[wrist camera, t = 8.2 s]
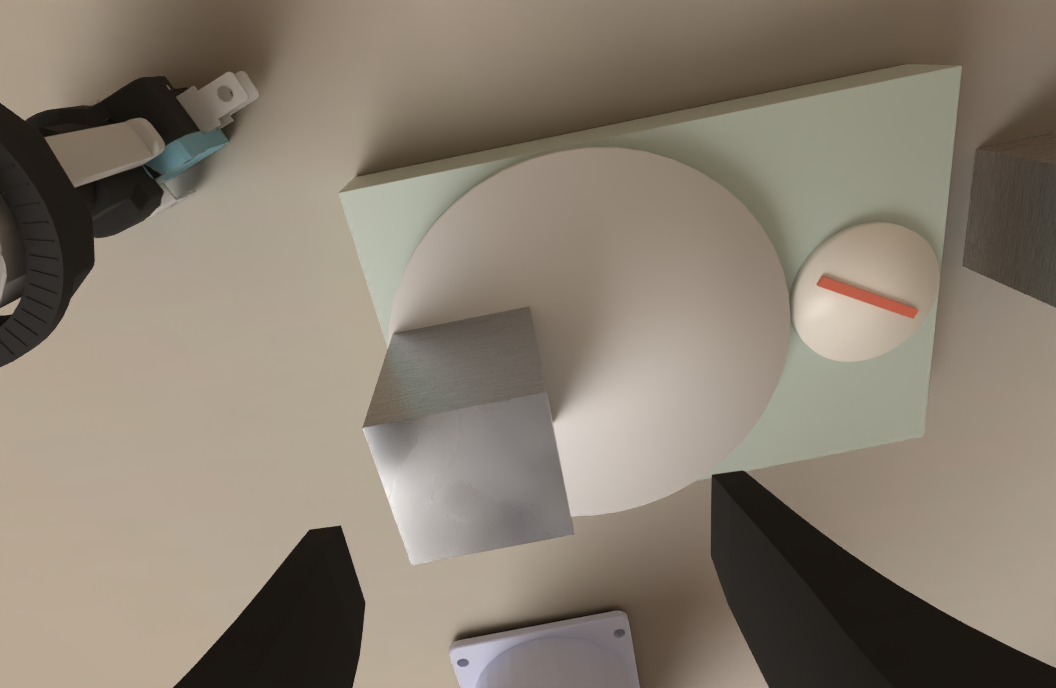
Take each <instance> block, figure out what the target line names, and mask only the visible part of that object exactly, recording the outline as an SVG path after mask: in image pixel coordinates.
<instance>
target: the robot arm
mask: <svg viewBox="0 0 1056 688" xmlns="http://www.w3.org/2000/svg"><path fill="white" fill-rule="evenodd" d="M711 557H712V560H713V562H714V565H715V568H716V571H717V574H718V577H719V580H720V583H721V586H722V588H723V591H724V594H725V597H726V599H727V602H728V605H729V607H730V609H731V611H732V613H733V615H734V617H735V619H736V621H737V623H738V626H739V628H740V630H741V632H742V634H743V636H744V638H745V640H746V642H747V644H748V646H749V648H750V650H751V652H752V654H753V656H754V658H755V660H756V662H757V664H758V666H759V668H760V670H761V672H762V674H763V676H764V678H765V680H766V682H767V684H768V686H769V688H1056V668H1055V667H1052V666H1050V665H1048V664H1046V663H1043V662H1041V661H1039V660H1037V659H1035V658H1033V657H1031V656H1028V655H1026V654H1024V653H1022V652H1020V651H1018V650H1016V649H1014V648H1012V647H1010V646H1008V645H1006V644H1004V643H1002V642H1000V641H998V640H996V639H994V638H992V637H990V636H988V635H986V634H984V633H982V632H980V631H978V630H976V629H974V628H972V627H970V626H968V625H966V624H964V623H963V622H961V621H959V620H957V619H955V618H953V617H952V616H950V615H948V614H946V613H944V612H942V611H941V610H939V609H937V608H936V607H934V606H932V605H930V604H929V603H927V602H925V601H924V600H922V599H920V598H919V597H917V596H915V595H913V594H912V593H910V592H908V591H907V590H905V589H903V588H902V587H900V586H898V585H897V584H895V583H894V582H892V581H890V580H889V579H887V578H886V577H884V576H883V575H881V574H880V573H878V572H877V571H875V570H874V569H872V568H871V567H869V566H868V565H866V564H865V563H863V562H862V561H860V560H859V559H857V558H856V557H854V556H853V555H851V554H850V553H849V552H847V551H846V550H844V549H843V548H842V547H840V546H839V545H837V544H836V543H835V542H833V541H832V540H831V539H829V538H828V537H827V536H825V535H824V534H823V533H821V532H820V531H819V530H817V529H816V528H815V527H813V526H812V525H811V524H809V523H808V522H807V521H806V520H804V519H803V518H802V517H800V516H799V515H798V514H797V513H795V512H794V511H793V510H792V509H790V508H789V507H788V506H787V505H785V504H784V503H783V502H782V501H780V500H779V499H778V498H777V497H775V496H774V495H773V494H772V493H771V492H769V491H768V490H767V489H766V488H764V487H763V486H762V485H761V484H759V483H758V482H757V481H756V480H755V479H753V478H752V477H751V476H750V475H748V474H747V473H746V472H745V471H743V470H741V471H734V472H727V473H720V474H712V493H711ZM364 611H365V600H364V597H363V594H362V591H361V587H360V584H359V581H358V578H357V575H356V572H355V569H354V565H353V562H352V559H351V556H350V553H349V550H348V547H347V543H346V540H345V537H344V534H343V531H342V528H341V526H334V527H327V528H320V529H312V530H309V531H308V532H307V533H306V535H305V536H304V537H303V538H302V539H301V541H300V542H299V543H298V544H297V546H296V547H295V548H294V549H293V551H292V552H291V553H290V554H289V555H288V557H287V558H286V559H285V560H284V562H283V563H282V564H281V565H280V567H279V568H278V569H277V570H276V572H275V573H274V574H273V575H272V577H271V578H270V579H269V580H268V582H267V583H266V584H265V585H264V587H263V588H262V589H261V590H260V592H259V593H258V594H257V595H256V596H255V597H254V599H253V600H252V601H251V602H250V603H249V605H248V606H247V607H246V608H245V609H244V611H243V612H242V613H241V614H240V615H239V617H238V618H237V619H236V620H235V621H234V623H233V624H232V625H231V626H230V627H229V628H228V629H227V630H226V631H225V633H224V634H223V635H222V636H221V637H220V638H219V639H218V640H217V641H216V643H215V644H214V645H213V646H212V647H211V648H210V649H209V650H208V651H207V653H206V654H205V655H204V656H203V657H202V658H201V659H200V660H199V661H198V663H197V664H196V665H195V666H194V667H193V668H192V669H191V670H190V671H189V672H188V673H187V674H186V675H185V676H184V677H183V678H182V679H181V680H180V681H179V682H178V683H177V684H176V685H175V686H174V687H173V688H352V687H353V683H354V678H355V674H356V670H357V665H358V661H359V656H360V648H361V640H362V632H363V622H364ZM618 629H620V630H618ZM449 657H450V659H451V662H452V665H453V668H454V671H455V673H456V676H457V679H458V682H459V685H460V688H640V685H639V679H638V673H637V667H636V661H635V655H634V649H633V643H632V637H631V631H630V625H629V620H628V616H627V614H626V613H624V612H623V611H611V612H606V613H600V614H595V615H590V616H584V617H579V618H574V619H569V620H563V621H558V622H553V623H547V624H542V625H537V626H532V627H526V628H521V629H516V630H510V631H505V632H500V633H495V634H489V635H484V636H479V637H473V638H468V639H463V640H458V641H455V642H453V643H452V644H451V645H450V648H449Z"/></svg>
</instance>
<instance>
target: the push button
mask: <svg viewBox="0 0 1056 688" xmlns="http://www.w3.org/2000/svg"><path fill="white" fill-rule="evenodd" d="M230 89H231V90H232V93H233V96H232V95H231V91H230ZM259 95H260V93H259V91H258V90H257V88H256V87H255V85H254V84H253V82H252V81H251V79H250V78H249V77H248V75H247V74H246V72H244V71H239V72H237V73H236V74H234V73H232V72H229V71H228V72H226V73H225V74H223V75H222V76H220V77H218V78H217V79H215V80H214V81H212V82H211V83H209V84H207V85H205V86H204V87H202V88H200V89H199V90H197V89H196V87H195V86H192V87H191V88H181V89H174V88H173V87H172V85H171V84H170V83H169V81H168V80H167V79H166V77H165V76H157V77H144V78H140V79H137V80H135V81H133V82H131V83H129V84H127V85H126V86H124V87H123V88H121V89H120V90H118V91H117V92H115V93H114V94H112V95H111V96H109V97H108V98H106V99H105V100H102V101H101V102H100V101H99V100H98V101H97V102H95V103H94V104H92V105H91V106H75V107H67V108H60V109H52V110H46V111H43V112H40V113H37V114H35V115H33V116H32V117H30V118H28V119H27V120H25V121H24V120H23V119H21V118H20V117H19V116H17V115H16V114H15V113H13V112H12V111H11V110H9V109H8V108H6V107H5V106H4V105H2V104H1V103H0V308H1V307H3V306H5V305H7V304H9V303H11V302H13V301H15V300H17V299H18V298H20V297H21V300H20V302H19V304H18V306H17V308H16V309H15V311H14V313H13V314H12V315H5V316H0V367H2V366H4V365H6V364H8V363H10V362H13V361H14V360H16V359H18V358H19V357H21V356H22V355H24V354H25V353H27V352H29V351H30V350H32V349H33V348H35V347H36V346H38V345H39V344H40V343H41V342H42V341H44V340H45V339H46V338H47V337H48V336H49V335H50V334H51V333H52V331H53V330H54V329H55V328H56V327H57V325H58V324H59V322H60V321H61V319H62V318H63V316H64V314H65V311H66V309H67V307H68V305H69V302H70V299H71V297H72V296H73V295H74V293H75V292H76V290H77V289H78V288H79V286H80V285H81V283H82V282H83V281H84V279H85V278H86V276H87V275H88V274H89V272H90V271H91V269H92V268H93V266H94V261H95V259H94V237H95V238H103V237H108V236H112V235H115V234H118V233H120V232H122V231H124V230H126V229H128V228H130V227H132V226H134V225H136V224H138V223H140V222H142V221H144V220H145V219H148V218H150V217H152V216H155V215H157V214H159V213H161V212H163V211H165V210H167V209H169V208H170V207H172V206H174V205H176V204H177V203H179V202H180V201H182V200H184V199H185V198H187V197H189V196H190V195H192V194H193V193H195V192H196V191H195V189H194V190H192V191H190V192H188V193H185V194H183V195H181V196H179V197H178V198H176V197H175V196H174V195H173V194H172V193H171V192H170V190H169V189H168V188H167V187H166V185H165V184H164V183H165V182H167V181H169V180H170V179H172V178H174V177H175V176H177V175H178V174H180V173H182V172H183V171H185V170H186V169H188V168H190V167H191V166H193V165H194V164H196V163H198V162H199V161H201V160H202V159H204V158H206V157H207V156H209V155H211V154H212V153H214V152H215V151H217V150H219V149H220V148H222V147H223V146H225V145H226V144H228V143H229V140H228V139H227V138H226V136H225V135H224V133H223V132H222V131H221V128H223V127H224V126H226V125H228V124H229V123H231V122H232V121H234V120H233V118H232V117H231V115H232V114H234V113H235V112H237V111H238V110H240V109H242V108H243V107H245V106H246V105H248V104H250V103H251V102H253V101H254V100H256V99H258V98H259Z"/></svg>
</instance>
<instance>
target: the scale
mask: <svg viewBox="0 0 1056 688" xmlns="http://www.w3.org/2000/svg"><path fill="white" fill-rule="evenodd" d="M961 72H962V65H924V64H904V65H900V66H895V67H890V68H885V69H880V70H875V71H870V72H865V73H861V74H856V75H851V76H846V77H841V78H836V79H831V80H826V81H822V82H817V83H812V84H807V85H802V86H797V87H792V88H787V89H782V90H778V91H773V92H768V93H763V94H758V95H753V96H748V97H743V98H739V99H734V100H729V101H724V102H719V103H714V104H709V105H704V106H700V107H695V108H690V109H685V110H680V111H675V112H670V113H665V114H661V115H656V116H651V117H646V118H641V119H636V120H631V121H626V122H621V123H617V124H612V125H607V126H602V127H597V128H592V129H587V130H582V131H578V132H573V133H568V134H563V135H558V136H553V137H548V138H543V139H539V140H534V141H529V142H524V143H519V144H514V145H509V146H504V147H500V148H495V149H490V150H485V151H480V152H475V153H470V154H465V155H460V156H456V157H451V158H446V159H441V160H436V161H431V162H426V163H421V164H417V165H412V166H407V167H402V168H397V169H392V170H387V171H382V172H378V173H373V174H368V175H363V176H358V177H354V178H353V179H352V180H351V181H350V182H349V183H348V184H347V185H346V186H345V187H344V188H343V189H342V190H341V191H340V192H339V193H338V194H339V197H340V200H341V203H342V206H343V209H344V213H345V216H346V219H347V222H348V225H349V228H350V231H351V235H352V238H353V241H354V244H355V247H356V250H357V254H358V257H359V260H360V263H361V266H362V269H363V272H364V276H365V279H366V282H367V285H368V288H369V291H370V295H371V298H372V301H373V304H374V307H375V310H376V313H377V317H378V320H379V323H380V326H381V329H382V332H383V336H384V339H385V342H386V345H387V348H388V347H389V344H390V341H391V338H392V335H393V333H398V332H403V331H408V330H413V329H418V328H423V327H428V326H433V325H438V324H443V323H448V322H453V321H458V320H463V319H468V318H473V317H478V316H483V315H488V314H493V313H498V312H503V311H508V310H513V309H518V308H523V307H528V306H530V310H531V315H532V320H533V325H534V330H535V335H536V340H537V345H538V350H539V355H540V360H541V365H542V370H543V375H544V380H545V385H546V390H547V395H548V400H549V405H550V410H551V415H552V420H553V425H554V430H555V435H556V440H557V446H558V451H559V456H560V461H561V467H562V472H563V477H564V482H565V488H566V493H567V498H568V503H569V509H570V514H571V516H594V515H601V514H608V513H615V512H620V511H624V510H628V509H632V508H636V507H640V506H643V505H646V504H648V503H651V502H654V501H657V500H660V499H662V498H664V497H666V496H668V495H670V494H673V493H675V492H677V491H679V490H681V489H683V488H684V487H686V486H688V485H689V484H691V483H693V482H694V481H698V480H704V479H709V478H712V474H720V473H727V472H734V471H741V470H743V471H750V470H756V469H761V468H766V467H771V466H776V465H781V464H787V463H792V462H797V461H802V460H807V459H813V458H818V457H823V456H828V455H833V454H838V453H844V452H849V451H854V450H859V449H864V448H870V447H875V446H880V445H885V444H890V443H896V442H901V441H906V440H911V439H916V438H921V437H924V429H925V419H926V410H927V400H928V390H929V381H930V371H931V361H932V352H933V342H934V332H935V323H936V313H937V303H938V294H939V284H940V274H941V265H942V255H943V245H944V236H945V226H946V216H947V207H948V197H949V187H950V178H951V168H952V158H953V149H954V139H955V129H956V120H957V110H958V100H959V91H960V81H961Z"/></svg>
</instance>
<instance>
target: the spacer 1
mask: <svg viewBox="0 0 1056 688" xmlns="http://www.w3.org/2000/svg"><path fill="white" fill-rule="evenodd" d="M363 431H364V434H365V437H366V439H367V442H368V445H369V448H370V451H371V453H372V456H373V459H374V462H375V465H376V467H377V470H378V473H379V476H380V478H381V481H382V484H383V487H384V490H385V492H386V495H387V498H388V501H389V504H390V506H391V509H392V512H393V515H394V518H395V520H396V523H397V526H398V529H399V531H400V534H401V537H402V540H403V543H404V545H405V548H406V551H407V554H408V557H409V559H410V562H411V565H416V564H422V563H427V562H432V561H437V560H442V559H448V558H453V557H458V556H463V555H468V554H474V553H479V552H484V551H489V550H494V549H500V548H505V547H510V546H515V545H520V544H526V543H531V542H536V541H541V540H546V539H552V538H557V537H562V536H567V535H572V534H574V530H573V524H572V519H571V514H570V509H569V503H568V498H567V493H566V488H565V482H564V477H563V472H562V467H561V461H560V456H559V451H558V446H557V440H556V435H555V430H554V425H553V420H552V415H551V410H550V405H549V400H548V395H547V390H546V385H545V380H544V375H543V370H542V365H541V360H540V355H539V350H538V345H537V340H536V335H535V330H534V325H533V320H532V315H531V310H530V306H528V307H523V308H518V309H513V310H508V311H503V312H498V313H493V314H488V315H483V316H478V317H473V318H468V319H463V320H458V321H453V322H448V323H443V324H438V325H433V326H428V327H423V328H418V329H413V330H408V331H403V332H398V333H393V335H392V338H391V341H390V344H389V347H388V350H387V353H386V356H385V359H384V363H383V366H382V369H381V372H380V375H379V378H378V381H377V384H376V388H375V391H374V394H373V397H372V400H371V403H370V406H369V409H368V412H367V416H366V419H365V422H364V425H363Z"/></svg>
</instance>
